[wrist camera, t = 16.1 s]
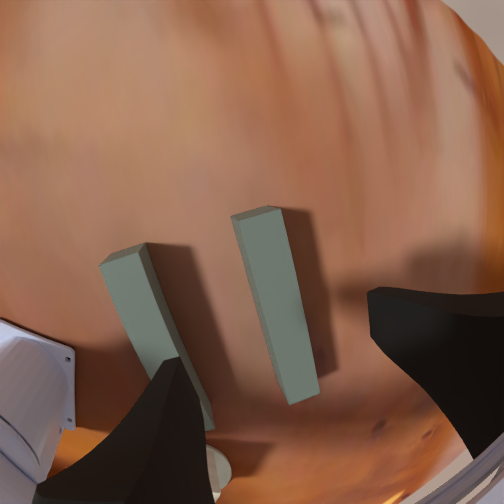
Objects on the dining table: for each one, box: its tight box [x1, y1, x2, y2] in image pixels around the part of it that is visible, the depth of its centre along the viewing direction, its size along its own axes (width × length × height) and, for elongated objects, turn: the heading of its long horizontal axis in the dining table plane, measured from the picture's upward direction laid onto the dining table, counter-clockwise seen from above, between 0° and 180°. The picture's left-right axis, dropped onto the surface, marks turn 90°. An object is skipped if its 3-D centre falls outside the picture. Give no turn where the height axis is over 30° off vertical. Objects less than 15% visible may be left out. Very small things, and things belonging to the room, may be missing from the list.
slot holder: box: [99, 206, 320, 431], centre depth 19 cm, size 14×11×3 cm
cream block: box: [206, 451, 221, 503], centre depth 20 cm, size 6×5×5 cm
